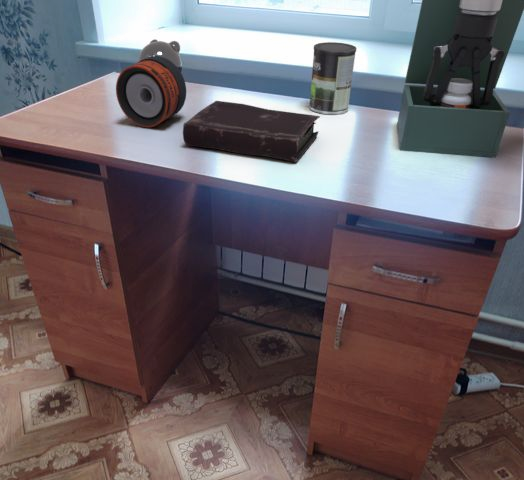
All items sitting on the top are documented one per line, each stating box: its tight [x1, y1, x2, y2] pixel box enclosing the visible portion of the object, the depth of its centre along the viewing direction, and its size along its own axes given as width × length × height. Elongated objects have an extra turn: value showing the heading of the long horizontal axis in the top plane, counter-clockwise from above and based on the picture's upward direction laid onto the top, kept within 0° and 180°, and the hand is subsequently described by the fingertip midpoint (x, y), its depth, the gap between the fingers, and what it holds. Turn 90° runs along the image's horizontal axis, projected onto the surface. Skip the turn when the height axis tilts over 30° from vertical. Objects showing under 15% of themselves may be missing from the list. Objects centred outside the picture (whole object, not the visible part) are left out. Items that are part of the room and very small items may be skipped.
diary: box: [182, 100, 321, 163], centre depth 110 cm, size 19×25×5 cm
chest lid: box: [404, 0, 524, 90], centre depth 109 cm, size 18×20×7 cm
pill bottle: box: [440, 78, 473, 109], centre depth 107 cm, size 6×6×11 cm
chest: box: [396, 84, 511, 158], centre depth 112 cm, size 17×20×9 cm
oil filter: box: [115, 56, 187, 128], centre depth 116 cm, size 13×12×13 cm
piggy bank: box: [138, 38, 183, 73], centre depth 138 cm, size 11×15×12 cm
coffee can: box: [308, 41, 358, 116], centre depth 126 cm, size 10×10×14 cm
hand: (446, 136), depth 111 cm, fingers closed on pill bottle, 6 cm apart
